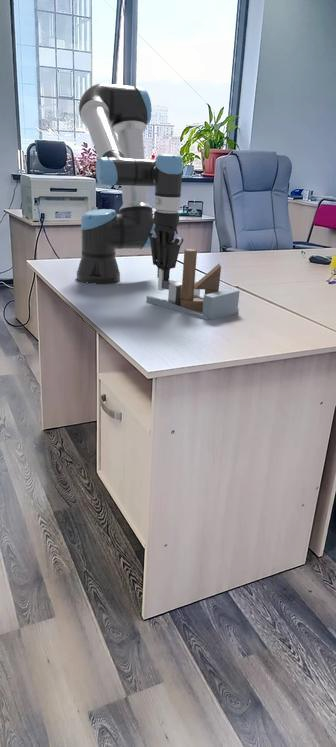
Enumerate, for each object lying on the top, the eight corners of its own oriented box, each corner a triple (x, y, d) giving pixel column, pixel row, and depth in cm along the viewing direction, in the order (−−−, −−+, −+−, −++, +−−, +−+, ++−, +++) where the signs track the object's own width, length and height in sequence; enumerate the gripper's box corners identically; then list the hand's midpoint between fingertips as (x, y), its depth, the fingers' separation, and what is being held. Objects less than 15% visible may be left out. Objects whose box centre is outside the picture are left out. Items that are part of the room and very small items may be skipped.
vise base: (146, 302, 164) (147, 278, 161) (178, 295, 173) (179, 272, 170) (207, 324, 148) (209, 298, 145) (238, 315, 158) (241, 290, 154)
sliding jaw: (151, 300, 165) (152, 278, 162) (175, 295, 172) (177, 273, 169) (174, 309, 158) (176, 286, 155) (199, 303, 165) (200, 280, 162)
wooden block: (216, 314, 157) (222, 252, 150) (180, 312, 157) (184, 250, 149) (215, 310, 161) (220, 249, 153) (179, 308, 160) (183, 248, 152)
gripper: (142, 208, 159) (139, 286, 169) (173, 215, 151) (168, 296, 161) (160, 207, 164) (156, 283, 174) (191, 213, 156) (186, 292, 166)
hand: (162, 289), depth 167 cm, fingers closed
